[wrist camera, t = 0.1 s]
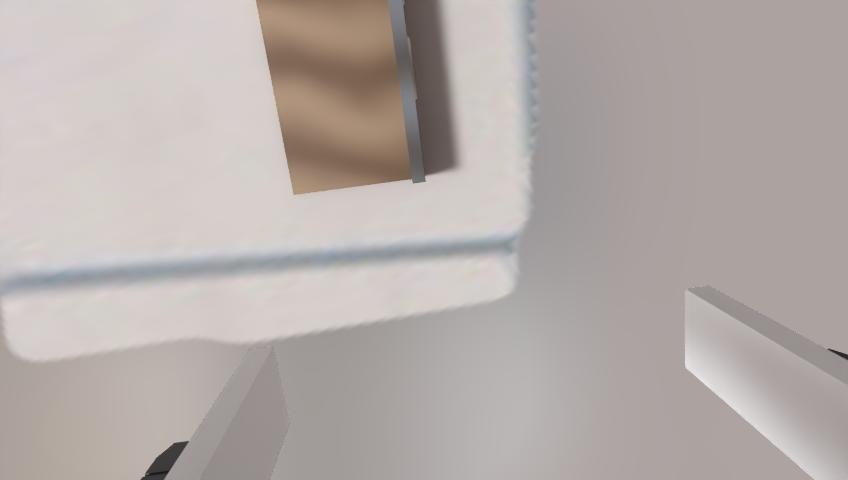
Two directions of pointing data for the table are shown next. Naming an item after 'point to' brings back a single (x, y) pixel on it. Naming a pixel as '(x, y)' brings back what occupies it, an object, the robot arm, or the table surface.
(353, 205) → the table surface
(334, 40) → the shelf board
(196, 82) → the table surface
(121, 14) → the table surface
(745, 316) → the robot arm
